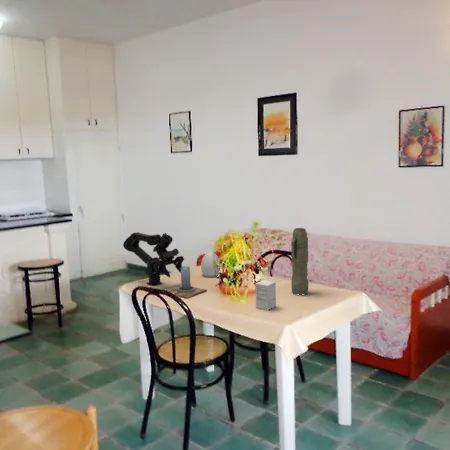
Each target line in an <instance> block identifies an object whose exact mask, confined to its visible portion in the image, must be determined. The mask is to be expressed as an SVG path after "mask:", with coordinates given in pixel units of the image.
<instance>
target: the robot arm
mask: <svg viewBox="0 0 450 450" xmlns="http://www.w3.org/2000/svg"><path fill="white" fill-rule="evenodd" d="M173 240H174V239H173V237H172V236H171V235H170V234H167V233H166V232H165V233H162V234H146V233H142V232H138V231H137V232H133V233H130V235H129V236H128V237H127V238H126V239H125V240H124V242H123V244H122V245H123V248H124V249H125V250H126V251H128V252H132V253H133V254H135V255H136V256H137V257H138V258H139V259H140V260H141V261H142V262H144V263H145V264H146V269H145V275H147V276H148V282H146V284H147V285H149V286H150V285H151V286H158V285H161V284H163V282H162V281H161V275H160V274H163V275H165V276H166V277H168V278H171V274H170V272H169V271H168V269H167V266H169V265H174V267H175V268H176V270H178V272H179V273H180V274H181V267H183V262H184V261H185V258H184V256H183V255H179V256H178V254H179V253H180V251H179V250H178V248H173V249H172V250H168V248H169V246H170V245H171V244H172V242H173ZM140 242H145V243H146V244H147V245H150V246H153V250H152V252H153V253H155V252H156V254H157V255H158V256H156V257H152V256H151V255H150V254H148V253H147V252H146V251H145V250H144V249H143V248H142V247H140Z"/></svg>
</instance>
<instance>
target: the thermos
mask: <svg viewBox="0 0 450 450" xmlns="http://www.w3.org/2000/svg"><path fill="white" fill-rule="evenodd" d="M290 243H291V244H290V245H291V246H290V247H291V252H290V253H291V254H290V255H291V263H292V268H291V269H292V279H291V294H292V293H293V294H292V295H294V294H299V295H302V294H307V293H308V294H309V280H308V262H309V245H308V244H309V239H308V233H307V229H306V228H303V227H297V228H296V227H295V228H294V229H293V232H292V239H291V242H290ZM308 294H307V295H308ZM299 295H298V296H299ZM302 296H303V295H302Z"/></svg>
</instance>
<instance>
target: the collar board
mask: <svg viewBox="0 0 450 450" xmlns="http://www.w3.org/2000/svg"><path fill="white" fill-rule="evenodd" d="M169 291H170V292H172V293H174V294H175V295H177V296H178V298H182V299H187V300H188V299H190V298H193V297H196V296H199V295H201V294H204V293H206V292H207V291H208V290H207V289H205V288H201V287H196V286H193V285H191V290H182V287H181V286H178V287H177V288H174V289H171V290H169ZM177 296H176V297H177Z"/></svg>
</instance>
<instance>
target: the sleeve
mask: <svg viewBox="0 0 450 450" xmlns="http://www.w3.org/2000/svg"><path fill="white" fill-rule="evenodd" d="M180 281H181V283H180V287H182V290H191V286H192V285H191V284H192V283H191V267H190V266H182V267H181V273H180Z"/></svg>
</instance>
